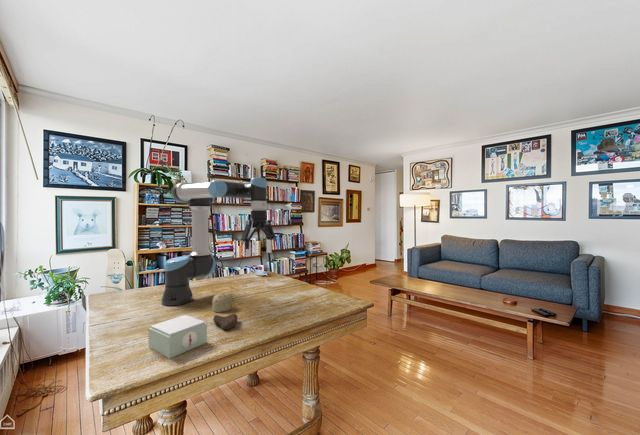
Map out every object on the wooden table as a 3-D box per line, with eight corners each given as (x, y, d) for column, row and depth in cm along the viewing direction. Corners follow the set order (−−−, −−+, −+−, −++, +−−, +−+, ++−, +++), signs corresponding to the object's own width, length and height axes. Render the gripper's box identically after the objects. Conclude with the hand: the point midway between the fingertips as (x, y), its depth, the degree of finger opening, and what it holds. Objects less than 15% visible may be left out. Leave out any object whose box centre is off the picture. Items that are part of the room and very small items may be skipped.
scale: (148, 347, 100) (148, 325, 99) (185, 333, 111) (185, 314, 111) (170, 359, 91) (170, 335, 91) (208, 342, 103) (208, 322, 103)
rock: (213, 321, 123) (213, 313, 122) (237, 320, 125) (237, 312, 125) (209, 332, 112) (209, 323, 112) (236, 330, 114) (236, 321, 114)
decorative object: (232, 316, 138) (238, 297, 144) (220, 310, 131) (227, 290, 136) (216, 316, 141) (223, 297, 147) (204, 309, 133) (212, 289, 139)
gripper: (244, 209, 120) (244, 258, 120) (282, 210, 141) (282, 251, 141) (232, 209, 124) (232, 257, 124) (271, 210, 145) (271, 250, 145)
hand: (259, 254), depth 132 cm, fingers open, 13 cm apart
